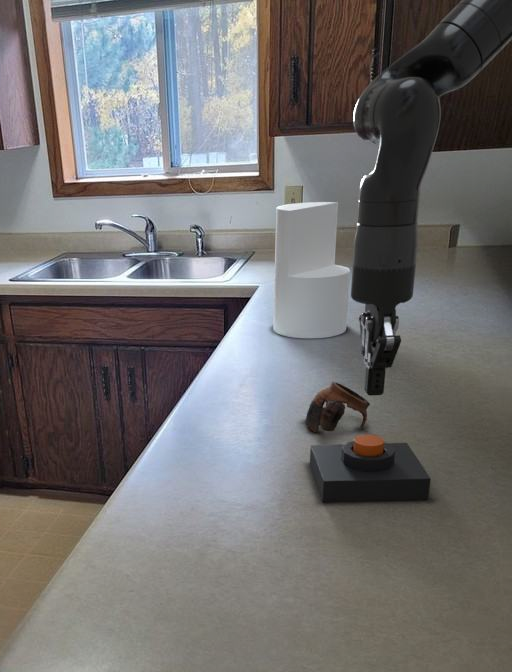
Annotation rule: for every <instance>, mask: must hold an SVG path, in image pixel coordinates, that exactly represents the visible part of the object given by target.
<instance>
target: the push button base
mask: <svg viewBox="0 0 512 672" xmlns="http://www.w3.org/2000/svg"><path fill="white" fill-rule="evenodd" d="M353 448H354V440H351V441H348V442H346V443H345V444H343V443H342V444H314V445H313V444H312V445H310V449H309V450H310V451H309V467H310V469H311V472H312V476H313V478H314V481H315V485H316V487H317V490H318V493H319V496H320V499H321V502H322V503H346V502H347V503H348V502H350V503H351V502H389V501H390V502H391V501H392V502H393V501H394V502H395V501H428V500H429V494H430V486H431V476H430V475H429V474H428V472H427V471H426V469H425V467H424V466H423V464H422V463H421V462H420V460H419V459H418V458H417V456H416V454H415V453H414V451H413V450H412V448H411V446H410V445H409V444H408V442H389V443H388V442H384V449H383V454H381V455H378V456H364V455H359V454H357V453H355V452H353Z"/></svg>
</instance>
